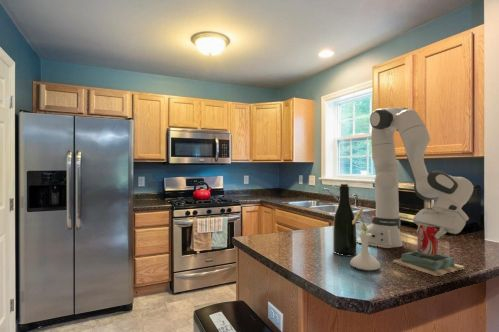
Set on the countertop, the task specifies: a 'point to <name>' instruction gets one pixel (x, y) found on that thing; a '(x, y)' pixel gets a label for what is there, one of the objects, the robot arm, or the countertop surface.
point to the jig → (429, 263)
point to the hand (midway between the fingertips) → (426, 235)
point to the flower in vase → (364, 249)
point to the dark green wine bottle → (344, 225)
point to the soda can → (427, 240)
